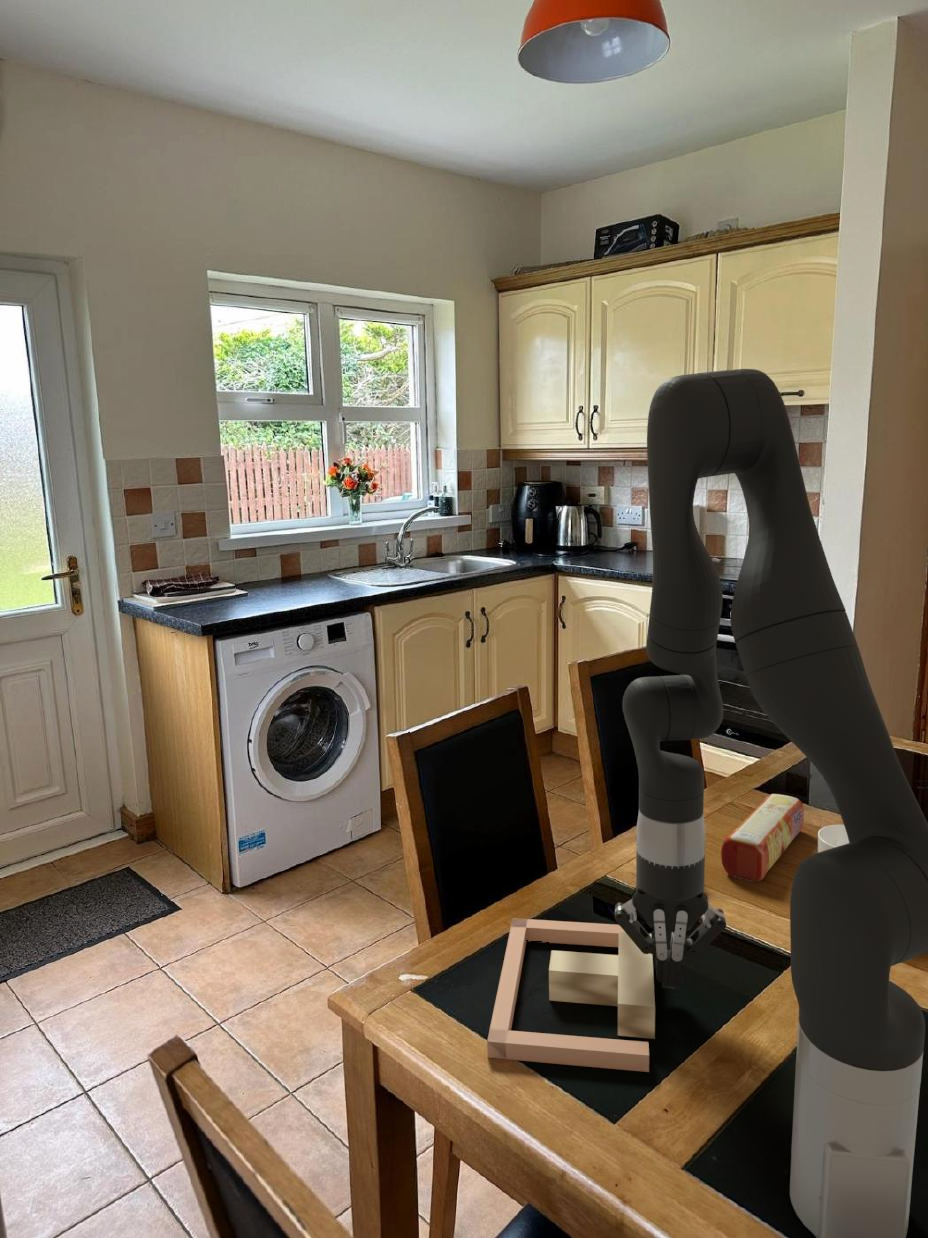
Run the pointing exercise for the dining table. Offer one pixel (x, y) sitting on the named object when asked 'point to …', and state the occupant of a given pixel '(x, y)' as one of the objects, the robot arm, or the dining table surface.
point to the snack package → (762, 837)
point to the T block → (609, 984)
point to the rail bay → (554, 1045)
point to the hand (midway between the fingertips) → (668, 983)
